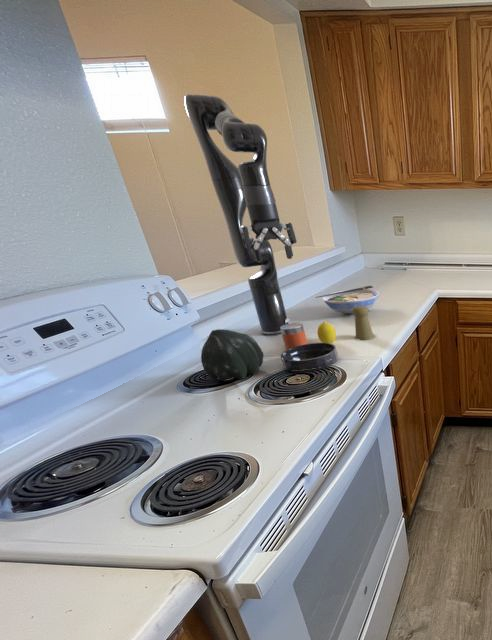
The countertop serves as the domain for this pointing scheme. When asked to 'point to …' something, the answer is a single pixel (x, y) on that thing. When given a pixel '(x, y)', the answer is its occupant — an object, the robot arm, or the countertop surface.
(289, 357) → the pan
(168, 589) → the countertop surface
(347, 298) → the ramen bowl
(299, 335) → the can
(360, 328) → the olive flared column
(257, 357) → the squash
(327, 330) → the lemon
